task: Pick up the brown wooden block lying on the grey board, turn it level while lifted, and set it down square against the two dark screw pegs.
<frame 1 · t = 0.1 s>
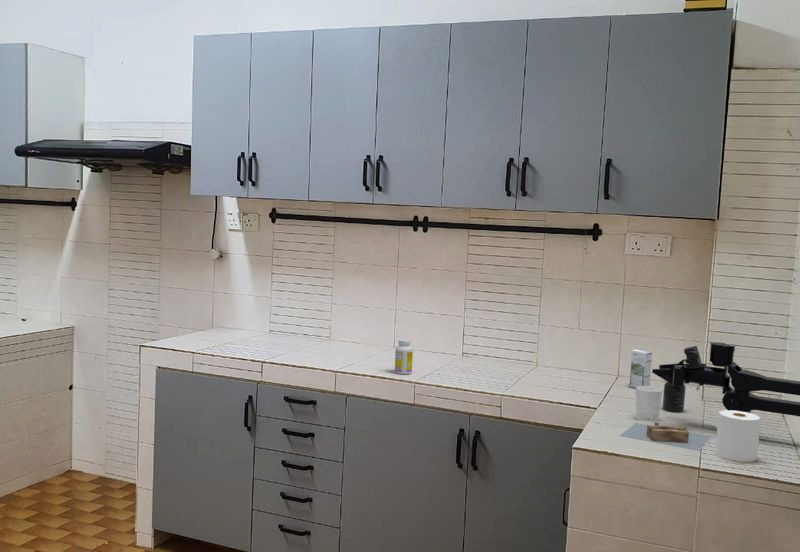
hand: (656, 368, 249), 17 cm above the worktop, tool horizontal, fingers open, 9 cm apart
supplement bottle: (672, 410, 265), on the worktop
brown wooden block: (667, 438, 227), point 1 cm above the worktop, touching grey board
supplement bottle 2: (403, 373, 304), on the worktop
white cup: (646, 420, 251), on the worktop
toilet paper: (735, 459, 214), on the worktop
grey board: (665, 438, 230), on the worktop
syrup box: (639, 388, 298), on the worktop
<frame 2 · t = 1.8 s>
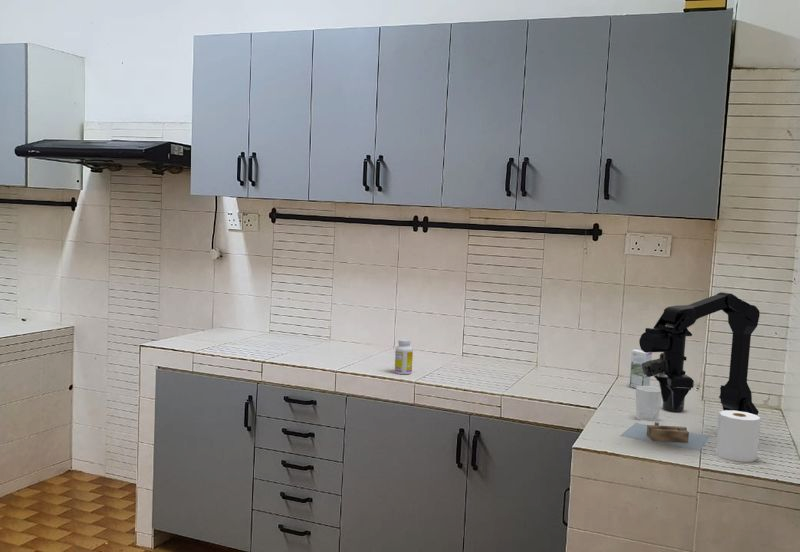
hand: (669, 405, 226), 11 cm above the worktop, tool pointing down, fingers open, 9 cm apart
nothing on the worktop moved.
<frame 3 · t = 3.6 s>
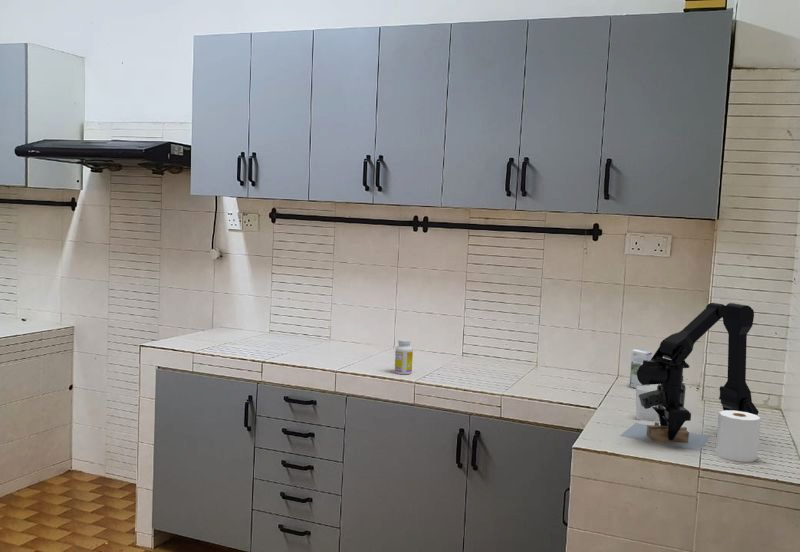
hand: (667, 436, 227), 1 cm above the worktop, tool pointing down, fingers closed on brown wooden block, 6 cm apart
brown wooden block: (667, 438, 227), point 1 cm above the worktop, touching gripper, grey board
everything else where it was.
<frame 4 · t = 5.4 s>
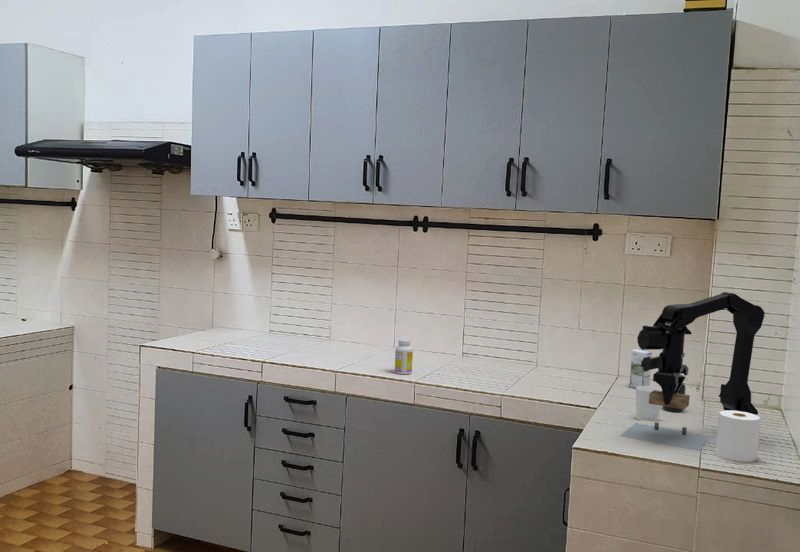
hand: (669, 402, 229), 11 cm above the worktop, tool pointing down, fingers closed on brown wooden block, 6 cm apart
brown wooden block: (668, 404, 229), point 10 cm above the worktop, touching gripper
everything else where it was.
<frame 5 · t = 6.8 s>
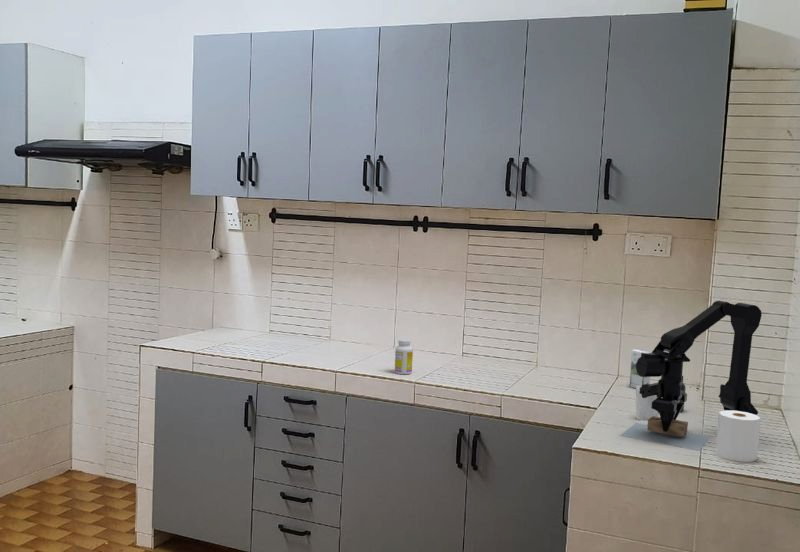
hand: (667, 428, 231), 3 cm above the worktop, tool pointing down, fingers closed on brown wooden block, 6 cm apart
brown wooden block: (667, 431, 231), point 2 cm above the worktop, touching gripper
everything else where it was.
when the fingers open (2 cm above the worktop, at t = 7.7 s): brown wooden block stays where it is, resting on grey board.
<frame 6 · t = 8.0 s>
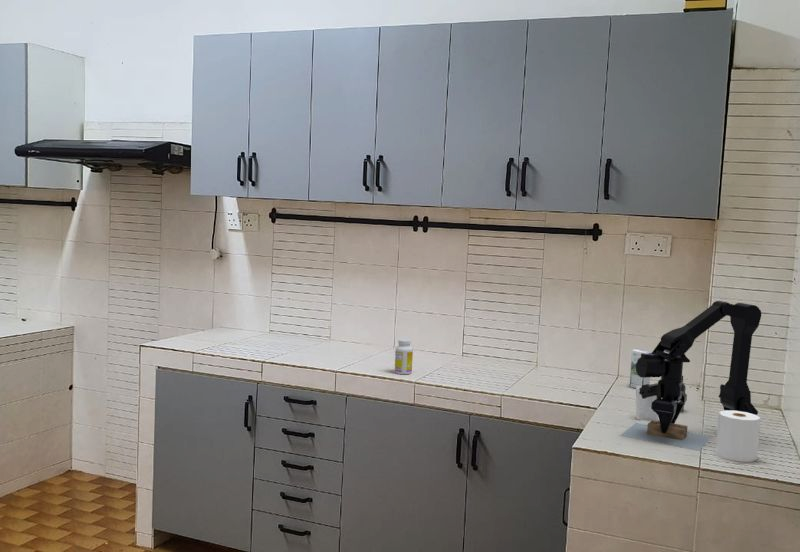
hand: (667, 429, 231), 2 cm above the worktop, tool pointing down, fingers open, 9 cm apart
brown wooden block: (666, 434, 231), point 1 cm above the worktop, touching grey board
everything else where it was.
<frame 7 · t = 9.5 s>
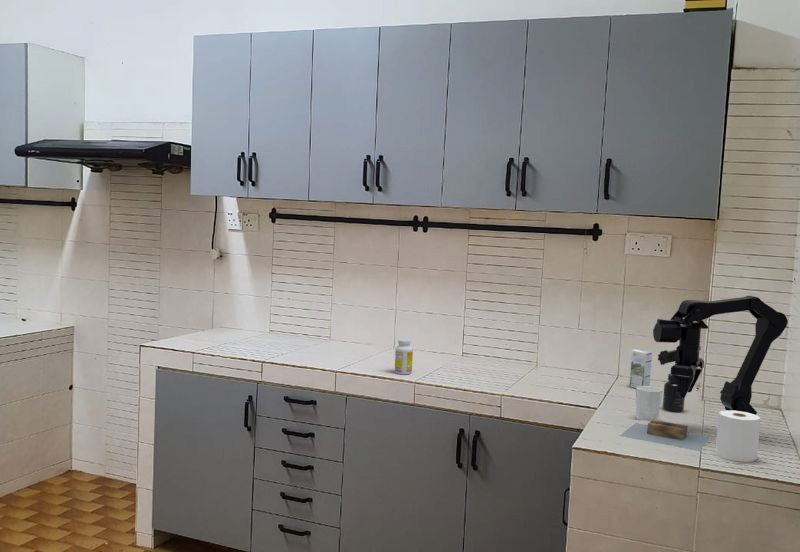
hand: (685, 394, 235), 12 cm above the worktop, tool pointing down, fingers open, 9 cm apart
nothing on the worktop moved.
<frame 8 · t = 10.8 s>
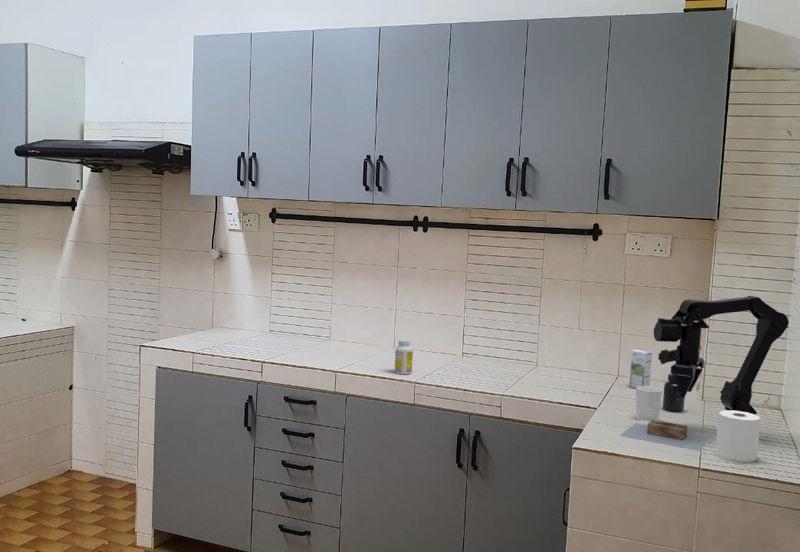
hand: (685, 394, 235), 12 cm above the worktop, tool pointing down, fingers open, 9 cm apart
nothing on the worktop moved.
at the end: brown wooden block 0.2 cm from the target spot on the grey board, point 0.8 cm above the grey board's base; brown wooden block tilted 0°; the gripper is holding nothing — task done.
